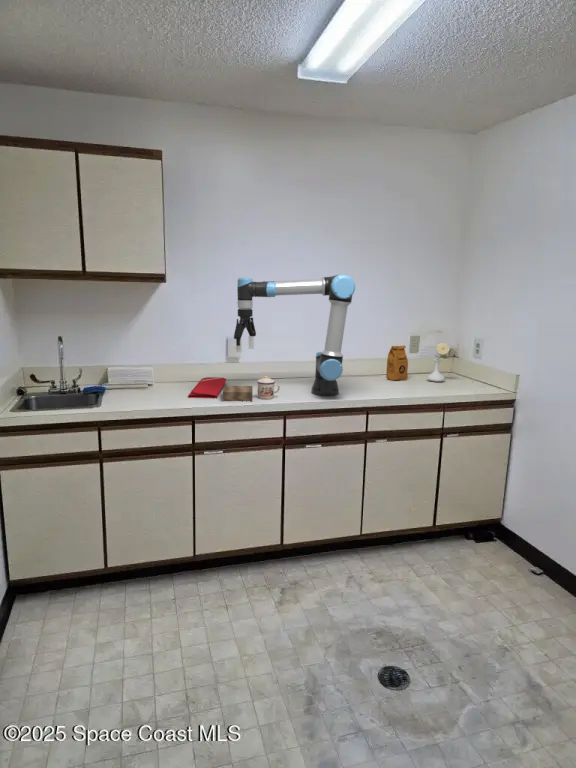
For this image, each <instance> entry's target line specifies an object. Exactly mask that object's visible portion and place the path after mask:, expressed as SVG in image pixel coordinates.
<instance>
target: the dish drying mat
mask: <svg viewBox="0 0 576 768" xmlns="http://www.w3.org/2000/svg"><path fill="white" fill-rule="evenodd" d="M226 382H227V378H225V377H215V376H214V377H210V376H209V377H208V376H207V377H202V378H201V379H200V380H199V381H198V382H197V384H196V385H195V386H194V388H193V389H191V391H190V393H188V394H187V397H188V398H189V399H215V398H216V399H218V397H219V395H220V394H221V392H222V391H223V389H224V386H226V385H225V384H226Z"/></svg>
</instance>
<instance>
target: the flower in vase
mask: <svg viewBox="0 0 576 768" xmlns="http://www.w3.org/2000/svg"><path fill="white" fill-rule="evenodd" d="M450 349H451V347H450V346H449V344H448V343H445V342H441V343H439V344H438V345H437V346H436V348H435V350H436V352H437V353H438V354H440V356H438V355H436V354H434V356H435V357H436V358H437V359H436V358H433V360H432V361H434V370H433V372H431V373H430V374H428V375H427V376H426V380H428V381H431V382H436V383H440V382H444V381H445V380H446V378H445V376H444V375H442V373H441V372H440V370H439V367H440V363H441V361H442V359H443V360H445V359H449V357H448V356H447V354H448V353H449V351H450ZM441 357H442V359H441Z"/></svg>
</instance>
